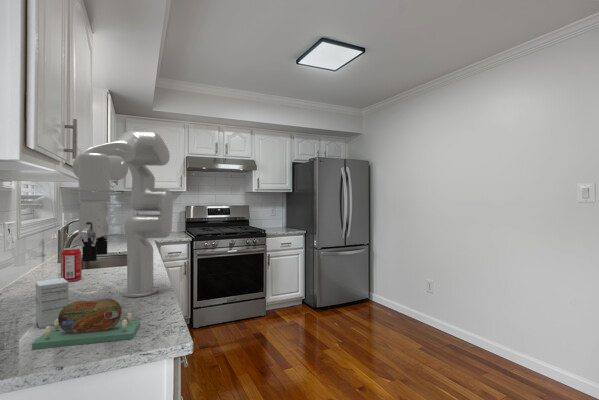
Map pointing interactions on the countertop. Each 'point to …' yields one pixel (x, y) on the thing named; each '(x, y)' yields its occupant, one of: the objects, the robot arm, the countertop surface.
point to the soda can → (71, 264)
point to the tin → (90, 316)
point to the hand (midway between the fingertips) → (95, 257)
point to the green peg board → (86, 335)
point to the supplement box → (50, 300)
